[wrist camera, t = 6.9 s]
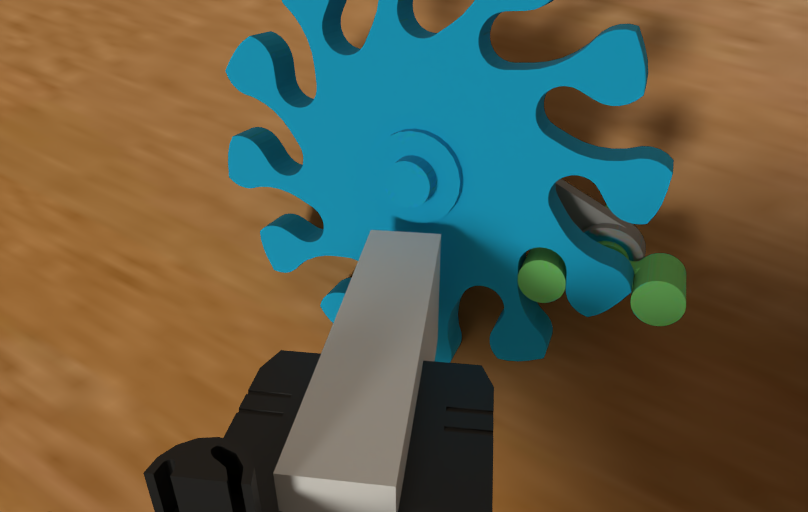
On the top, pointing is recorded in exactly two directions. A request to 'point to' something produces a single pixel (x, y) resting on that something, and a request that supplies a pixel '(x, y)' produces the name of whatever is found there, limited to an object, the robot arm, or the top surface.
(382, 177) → the gear
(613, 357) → the top surface
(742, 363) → the top surface
